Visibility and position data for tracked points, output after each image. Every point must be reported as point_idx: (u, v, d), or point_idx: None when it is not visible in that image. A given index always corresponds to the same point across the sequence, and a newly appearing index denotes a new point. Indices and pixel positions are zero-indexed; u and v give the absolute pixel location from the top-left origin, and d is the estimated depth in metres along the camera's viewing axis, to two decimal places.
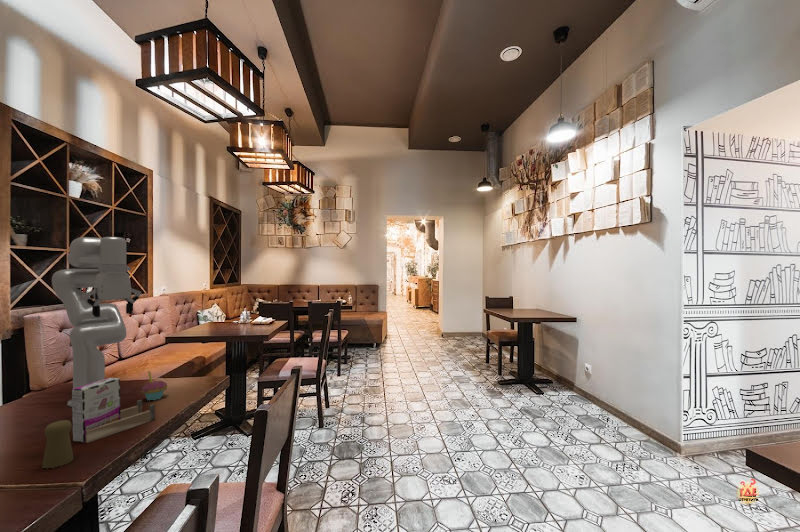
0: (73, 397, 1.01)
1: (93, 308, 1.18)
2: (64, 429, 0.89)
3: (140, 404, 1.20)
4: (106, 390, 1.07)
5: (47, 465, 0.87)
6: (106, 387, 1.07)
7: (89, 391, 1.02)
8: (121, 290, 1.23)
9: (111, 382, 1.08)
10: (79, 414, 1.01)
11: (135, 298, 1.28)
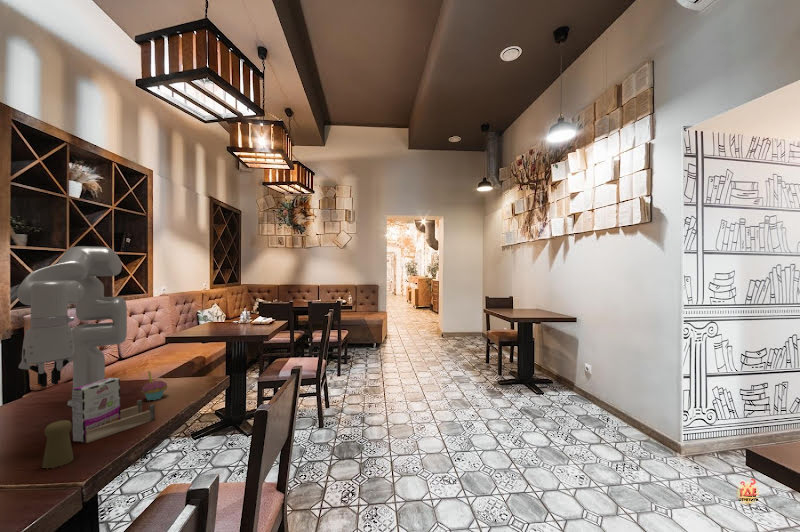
0: (73, 397, 1.01)
1: (38, 376, 0.95)
2: (65, 428, 0.89)
3: (140, 404, 1.20)
4: (106, 390, 1.07)
5: (47, 465, 0.87)
6: (106, 387, 1.07)
7: (89, 391, 1.02)
8: (59, 349, 0.97)
9: (111, 382, 1.08)
10: (79, 414, 1.01)
11: (64, 363, 0.99)
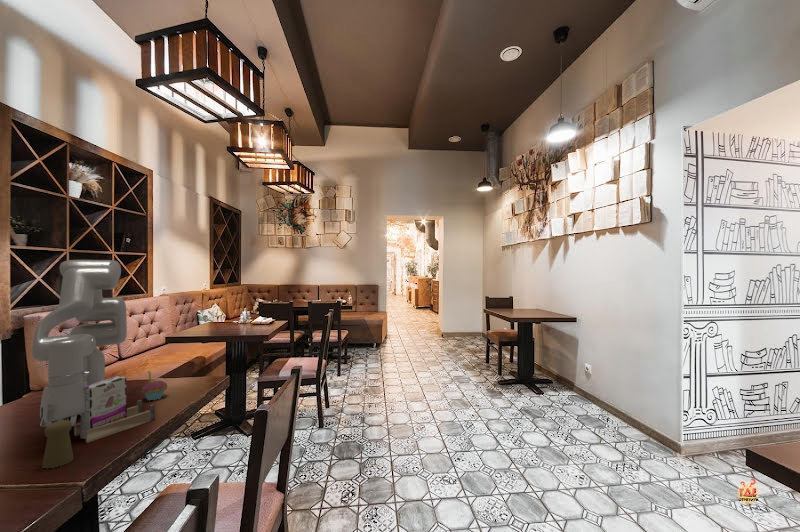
0: None
1: None
2: (65, 428, 0.89)
3: (140, 404, 1.20)
4: (112, 388, 1.08)
5: (47, 465, 0.87)
6: (113, 385, 1.08)
7: (96, 390, 1.03)
8: (75, 404, 1.00)
9: (118, 380, 1.10)
10: (87, 411, 1.02)
11: (76, 418, 1.01)
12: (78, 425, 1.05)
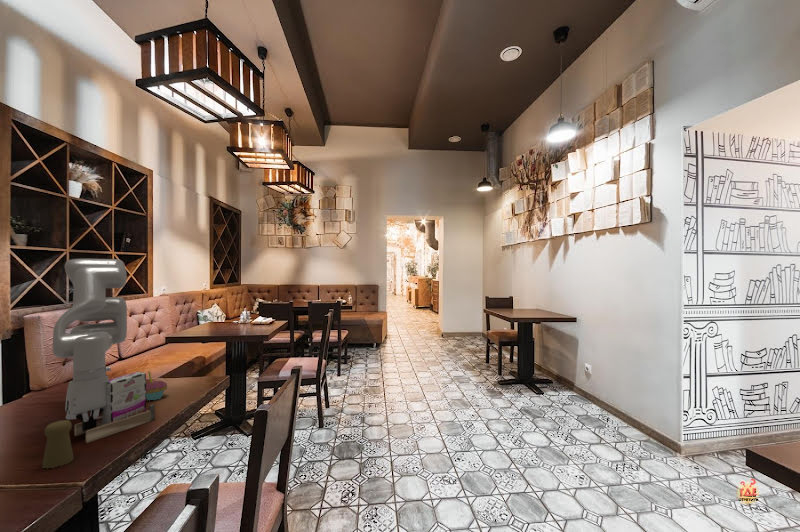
0: None
1: (83, 424, 1.03)
2: (65, 428, 0.89)
3: None
4: (132, 384, 1.12)
5: (47, 465, 0.87)
6: (133, 381, 1.12)
7: (117, 385, 1.08)
8: (98, 398, 1.05)
9: (138, 376, 1.14)
10: (108, 405, 1.06)
11: (99, 411, 1.06)
12: (78, 425, 1.05)
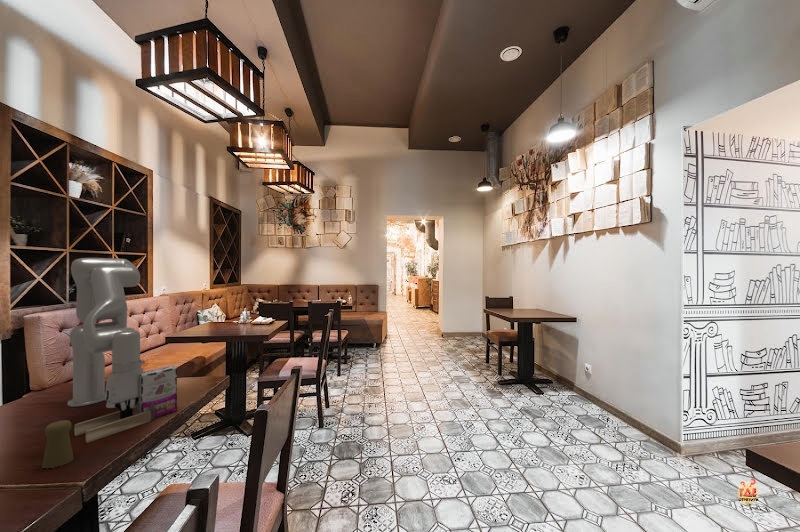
0: None
1: (121, 412, 1.11)
2: (64, 429, 0.89)
3: None
4: (163, 377, 1.19)
5: (47, 465, 0.87)
6: (163, 374, 1.19)
7: (147, 378, 1.15)
8: (134, 389, 1.13)
9: (168, 371, 1.20)
10: (140, 396, 1.14)
11: (135, 401, 1.14)
12: (78, 425, 1.05)
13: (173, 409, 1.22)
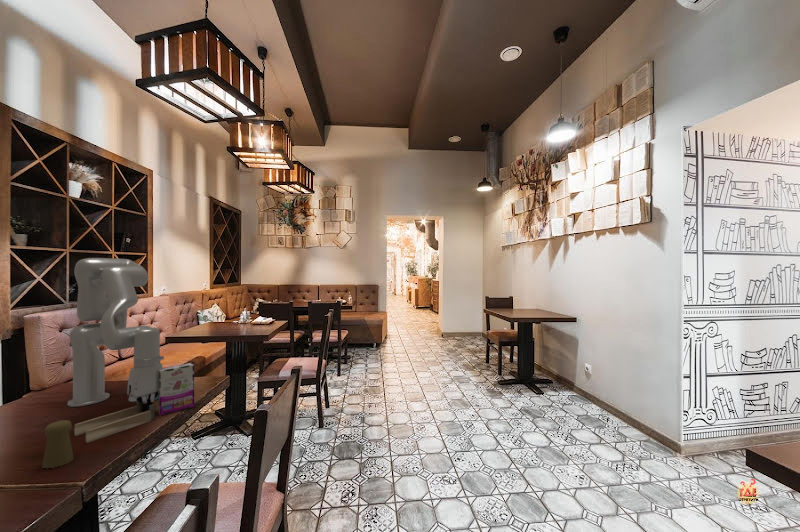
0: None
1: (142, 406, 1.17)
2: (65, 428, 0.89)
3: (140, 404, 1.20)
4: (180, 373, 1.23)
5: (47, 465, 0.87)
6: (180, 371, 1.23)
7: (165, 373, 1.20)
8: (155, 383, 1.18)
9: (185, 367, 1.24)
10: None
11: (155, 395, 1.20)
12: (78, 425, 1.05)
13: (190, 405, 1.25)
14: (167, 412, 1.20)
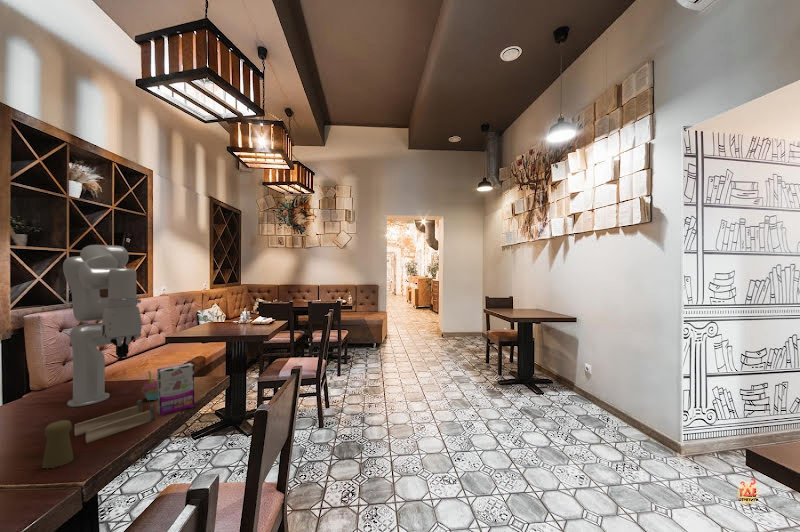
0: (157, 375, 1.22)
1: (117, 348, 1.12)
2: (65, 429, 0.89)
3: (140, 404, 1.20)
4: (180, 374, 1.23)
5: (47, 465, 0.87)
6: (180, 371, 1.23)
7: (164, 373, 1.20)
8: (131, 326, 1.13)
9: (185, 367, 1.24)
10: (158, 391, 1.20)
11: (131, 338, 1.15)
12: (78, 425, 1.05)
13: (191, 405, 1.25)
14: (167, 412, 1.20)
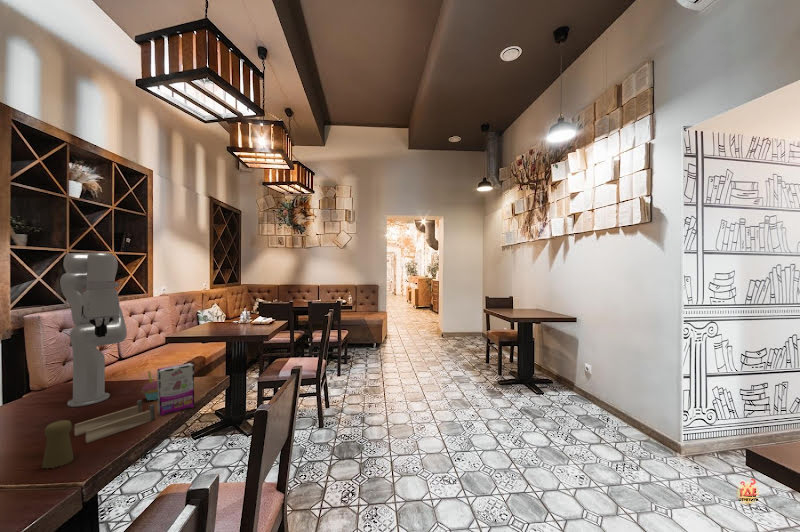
0: (157, 375, 1.22)
1: (95, 328, 1.18)
2: (64, 428, 0.89)
3: (140, 404, 1.20)
4: (180, 374, 1.23)
5: (47, 465, 0.87)
6: (180, 371, 1.23)
7: (164, 373, 1.20)
8: (109, 307, 1.20)
9: (185, 367, 1.24)
10: (158, 391, 1.20)
11: (109, 320, 1.21)
12: (78, 425, 1.05)
13: (191, 405, 1.25)
14: (167, 412, 1.20)
